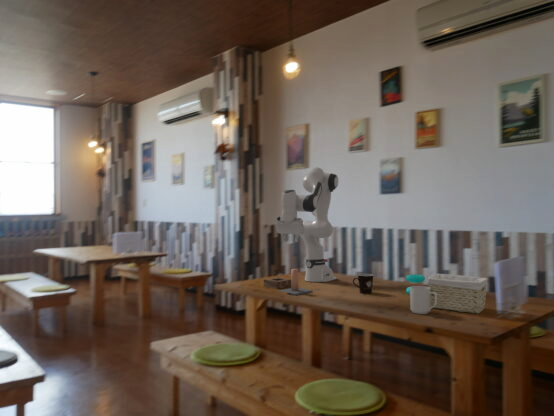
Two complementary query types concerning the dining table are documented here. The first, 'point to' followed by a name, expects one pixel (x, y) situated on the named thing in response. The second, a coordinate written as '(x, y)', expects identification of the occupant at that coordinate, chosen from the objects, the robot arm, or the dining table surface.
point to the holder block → (277, 283)
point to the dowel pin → (294, 279)
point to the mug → (421, 299)
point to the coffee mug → (365, 283)
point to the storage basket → (458, 292)
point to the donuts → (414, 280)
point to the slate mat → (300, 291)
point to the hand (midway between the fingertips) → (290, 241)
